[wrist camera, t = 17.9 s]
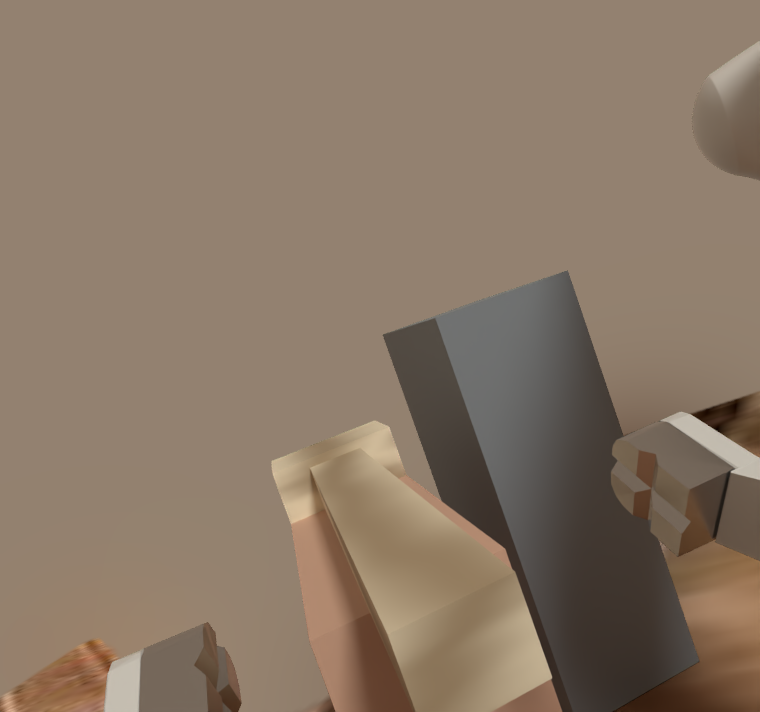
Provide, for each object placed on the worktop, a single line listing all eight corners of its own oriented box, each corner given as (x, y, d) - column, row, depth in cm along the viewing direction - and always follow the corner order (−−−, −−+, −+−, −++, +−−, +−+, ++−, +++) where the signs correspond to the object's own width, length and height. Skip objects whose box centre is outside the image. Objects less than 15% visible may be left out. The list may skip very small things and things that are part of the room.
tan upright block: (463, 686, 38) (380, 455, 37) (670, 1019, 19) (504, 548, 18) (374, 733, 37) (286, 494, 36) (498, 1148, 17) (309, 641, 16)
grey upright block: (573, 576, 47) (477, 300, 46) (699, 661, 33) (567, 270, 32) (484, 620, 45) (382, 334, 44) (579, 730, 31) (435, 317, 30)
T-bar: (390, 463, 34) (374, 420, 34) (627, 636, 12) (585, 513, 12) (288, 505, 33) (271, 461, 33) (337, 796, 10) (284, 656, 10)
